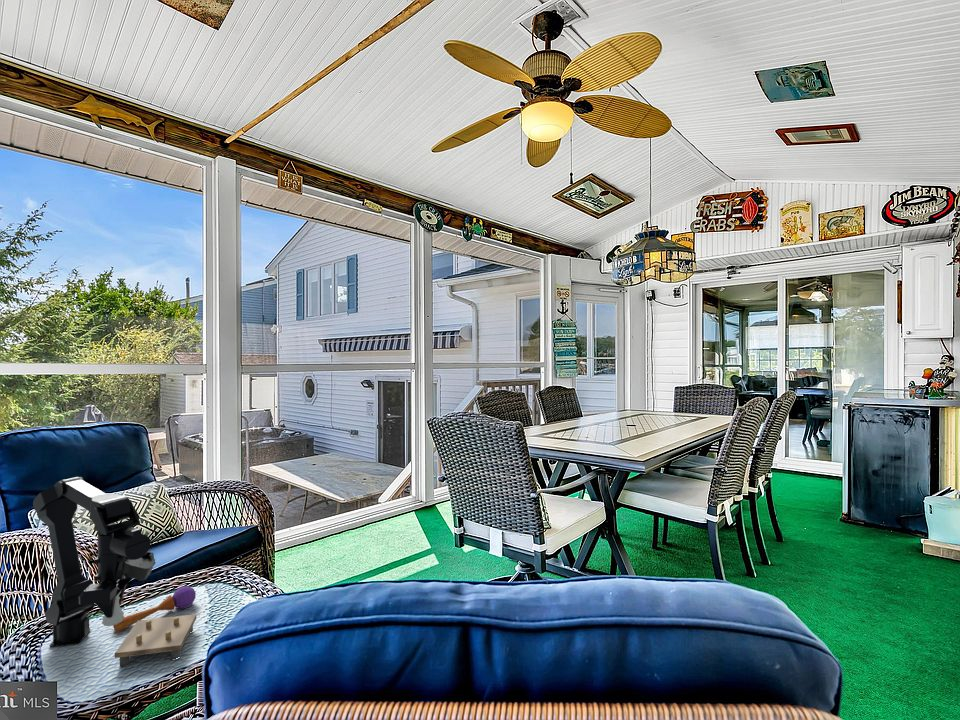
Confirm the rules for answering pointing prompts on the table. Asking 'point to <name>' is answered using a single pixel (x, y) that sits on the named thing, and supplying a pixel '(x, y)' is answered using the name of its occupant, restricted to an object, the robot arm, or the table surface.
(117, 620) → the rook chess piece
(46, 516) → the robot arm
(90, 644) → the table surface
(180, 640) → the peg board
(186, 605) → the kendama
